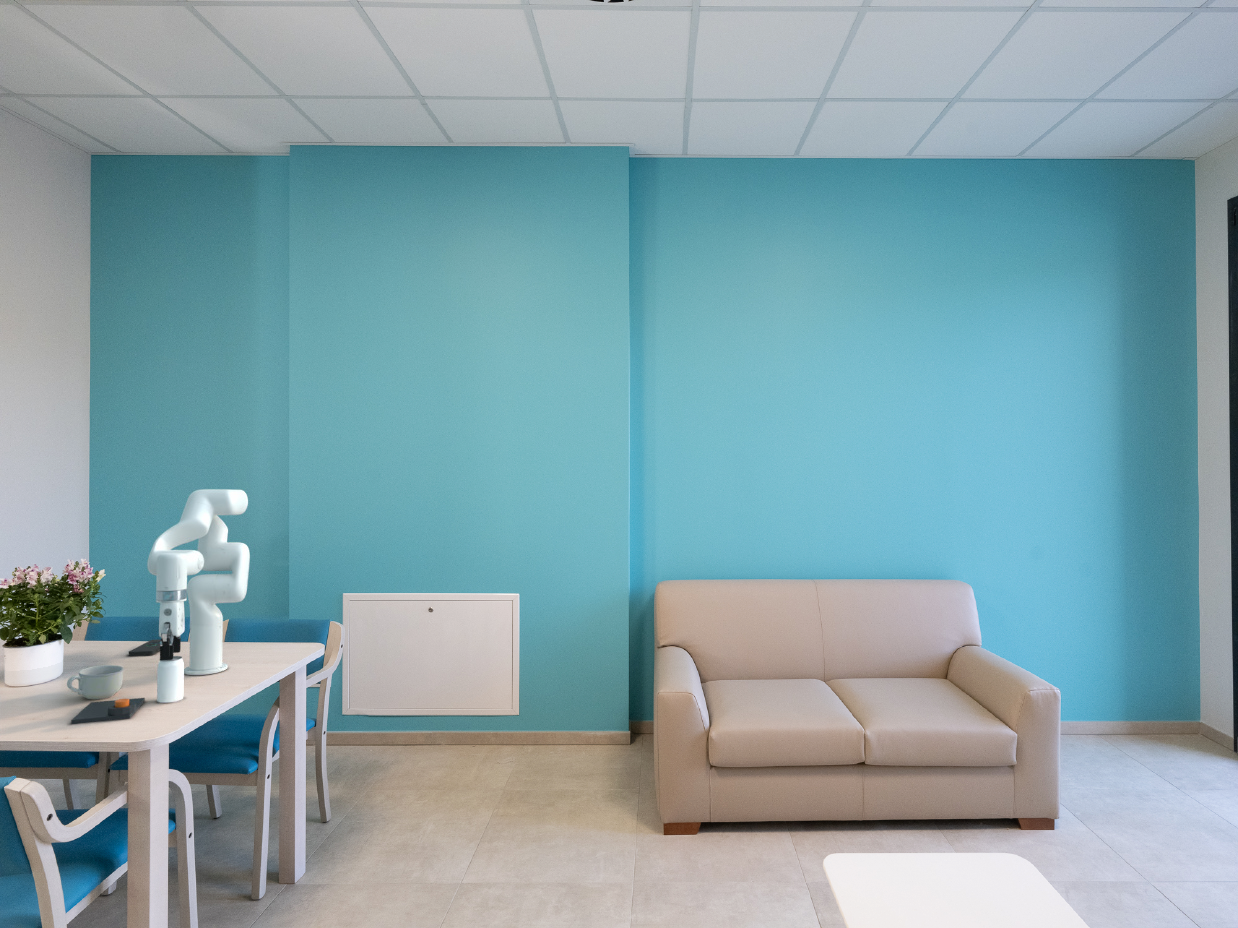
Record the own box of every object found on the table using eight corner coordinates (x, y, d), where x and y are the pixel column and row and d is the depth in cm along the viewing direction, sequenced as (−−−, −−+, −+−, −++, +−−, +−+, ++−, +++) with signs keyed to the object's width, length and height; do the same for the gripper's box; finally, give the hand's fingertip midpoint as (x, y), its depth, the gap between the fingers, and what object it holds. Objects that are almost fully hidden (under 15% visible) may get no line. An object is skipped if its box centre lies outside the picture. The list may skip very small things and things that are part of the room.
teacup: (115, 689, 224) (116, 662, 224) (128, 695, 217) (129, 668, 217) (59, 699, 213) (60, 671, 213) (71, 707, 206) (71, 678, 206)
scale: (90, 706, 207) (90, 695, 207) (147, 701, 212) (147, 690, 212) (71, 724, 192) (71, 712, 192) (132, 718, 197) (132, 707, 197)
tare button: (116, 705, 200) (116, 698, 200) (130, 704, 201) (130, 697, 201) (113, 709, 197) (113, 702, 197) (127, 707, 198) (127, 701, 198)
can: (151, 702, 211) (152, 660, 211) (171, 696, 217) (171, 654, 217) (169, 704, 209) (169, 661, 209) (188, 698, 215) (189, 656, 215)
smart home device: (174, 638, 285) (152, 650, 266) (174, 642, 285) (152, 655, 266) (151, 639, 284) (127, 651, 264) (151, 643, 284) (127, 656, 264)
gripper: (180, 599, 207) (179, 661, 206) (192, 591, 223) (191, 649, 222) (149, 600, 204) (147, 663, 203) (163, 592, 220) (162, 651, 220)
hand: (170, 656), depth 213 cm, fingers open, 9 cm apart
